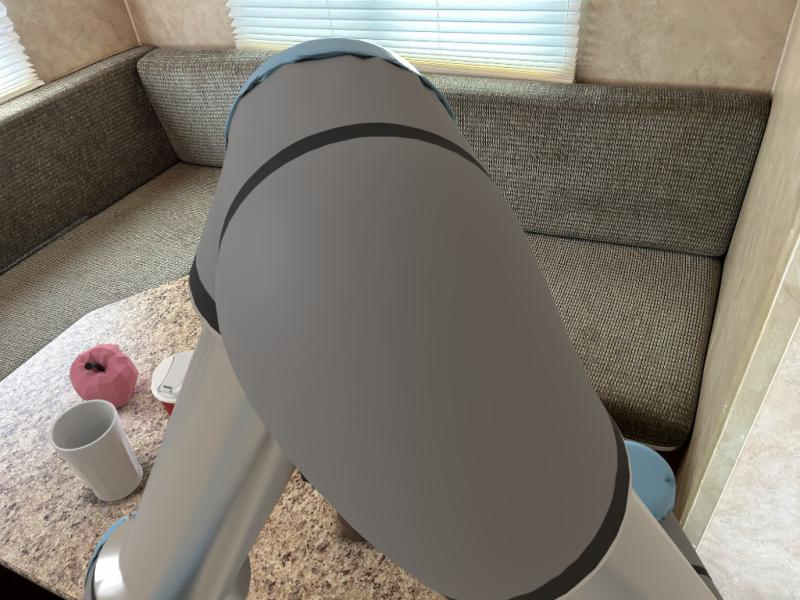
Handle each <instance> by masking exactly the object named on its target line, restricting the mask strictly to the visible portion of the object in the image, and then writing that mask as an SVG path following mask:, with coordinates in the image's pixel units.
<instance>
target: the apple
mask: <svg viewBox="0 0 800 600" xmlns="http://www.w3.org/2000/svg"><path fill="white" fill-rule="evenodd" d="M139 373H140V372H139V370H138V368H137V366H136V365H135V364H134V362H133V361H132V359H131V358H129V357H128V356H127V354H126V353H123V350H121V348H120V345H118V344H113V343H99V344H97V345H95V346H93V347H91V348H89V349H86V350H85V351H83V352H80V353H79V354H78V355H77V356H76V358H75V359H74V360H73V362H72V363H71V365H70V369H69V375H68V376H69V380H70V383H71V385H72V387H73V390H74V391H75V393H76V394H77V395H78V397H80V398H81V399H82V400H83V401H84V402H85V401H89V400H105V401H108V402H110V403H111V404H113V405H114V407H115V408H116V409H118V408H121V407H123V406H124V405H127V404H128V403H129V402H130V401H131V399H132V398H133V396H134V394H135V390H136V384H137V382H138V377H139Z"/></svg>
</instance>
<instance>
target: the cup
mask: <svg viewBox="0 0 800 600" xmlns="http://www.w3.org/2000/svg"><path fill="white" fill-rule="evenodd" d="M48 442H49V444H50V445H51V447H52V448H53V449H54V450H55V451H56V452H57V453H58V454H59V455H60V456H61V457H62V458H63V459H64V460H65V462H66V463H67V464H68V465H69V466H70V468H72V470H74V472H75V473H76V474H77V475H78V476H79V477H80V478H81V480H82V481H83V482H84V483H85V484H86V485H87V486H88V488H89V489H91V491H92V492H93V493H94V495H95V496H96V497H97V498H98V499H99V500H101V501H102V502H116V501H120V500H123V499H124V498H126V497H128V496H129V495H131V494H132V493H134V491H135V490H136V489H137V488H138V487H139V486H140V484H141V482H142V479H143V476H144V471H143V468H142V466H141V465H140V462H139V461H138V460H137V457H136V454H135V452H134V450H133V447H132V445H131V443H130V441H129V439H128V436H127V434H126V432H125V429H124V425H123V423H122V421H121V418H120V416H119V413H118V411H117V408H115V407H114V405H113V404H111V403H110V402H108V401H105V400H89V401H85V400H84V401H82V402H79V403H77V404H75V405H73V406H71V407H69V408H67V409H66V410H65V411H64V412H61V414H59V416H58V417H57V418H56V419H55V420H54V422H53V423H52V424H51V426H50V428H49V432H48Z"/></svg>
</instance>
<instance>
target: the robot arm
mask: <svg viewBox="0 0 800 600" xmlns="http://www.w3.org/2000/svg"><path fill="white" fill-rule="evenodd" d="M449 103H450V102H448V100H447V99H446V98H445V97H444V95H443V94H442V92H441V91H440V89H439V88H438V87H437V86H435V84H433V83H432V82H431V81H430V79H429V78H428V77H426V76H425V75H423V74H421V73H420V72H419V71H418V70H417V68H415V67H414V66H413V65H412V64H411V63H410V62H409V61H407V60H405V59H404V58H403V57H401V56H400V55H398V54H396V53H395V52H393V51H392V50H390V49H388V48H385V47H384V46H381V45H379V44H377V43H373V42H370V41H367V40H363V39H359V38H351V37H337V36H335V37H321V38H316V39H315V38H314V39H310V40H307V41H303V42H300V43H296V44H294V45H292V46H290V47H288V48H286V49H283V50H281V51H279V52H277V53H275V54H274V55H272V56H271V57H269V58H267V59H266V60H265V61H264V62H263V63H262V64H260V65H259V66H258V68H256V69H255V70H254V71H253V73H251V75H250V76H249V77H248V79H247V80H246V82H245V83H244V85H243V86H242V88H241V89H240V91H239V92H238V94H237V95H236V97H235V99H234V101H233V102H232V104H231V106H230V110H229V112H228V114H227V118H226V121H225V125H224V126H225V127H224V140H225V141H224V145H225V156H224V159H223V164H222V168H221V171H220V175H219V179H218V182H217V185H216V189H215V191H214V194H213V198H212V200H211V204H210V207H209V211H208V213H207V216H206V219H205V222H204V226H203V229H202V232H201V236H200V239H199V241H198V245H197V247H196V250H195V251H196V252H195V254H194V258H193V260H192V263H191V267H190V270H189V274H188V279H187V291H188V296H189V297H188V298H189V300H190V303H191V306H192V307H193V310H194V312H195V314H196V315H197V317H198V319H199V320H200V322H201V323H202V324H203V325H202V327H201V329H200V332H199V335H198V339H197V341H196V343H195V346H194V349H193V351H194V352H193V355H192V358H191V360H190V363H189V366H188V369H187V372H186V374H185V377H184V380H183V383H182V386H181V389H180V391H179V394H178V397H177V400H176V403H175V405H174V408H173V411H172V414H171V417H170V416H169V420H168V422H167V425H166V427H165V431H164V433H163V436H162V439H161V442H160V444H159V447H158V451H157V453H156V455H155V456H156V457H155V459H154V462H153V463H152V466H151V467H152V468H151V470H150V473H149V476H148V478H147V481H146V485H145V487H144V490H143V492H142V495H141V499H140V501H139V504H138V507H137V510H134V511H133V512H132V514H131V515H130V516H129V517H126V516H124V517H123V516H122V517H121V518H120V519H118V520H117V521H115V522H114V523H113V524H112V525H111V526H109V528H108V529H107V530H106V531H105V532H104V533H103V535H102V536H101V538H100V539H99V541H98V543H97V545H96V547H95V550H94V553H93V555H92V556H91V557H90V560H89V563H88V565H87V570H86V573H85V577H84V588H83V589H84V593H83V597H82V600H246V599H247V597H248V593H249V590H250V586H251V579H252V568H251V559H250V556H249V554H250V552H251V551H252V549H253V547H254V545H255V543H256V542H257V540H258V539H259V536H260V534H261V533H262V531H263V529H264V527H265V525H266V523H267V522H268V520H269V518H270V516H271V515H272V513H273V511H274V509H275V507H276V506H277V504H278V502H279V500H280V498H281V497H282V495H283V493H284V491H285V490H286V487H287V486H288V484H289V482H290V481H291V478H292V477H293V474H294V473H295V471H296V469H297V470H298V472H299V475H300V478H301V481H302V482H305V483H307V484H309V485H311V486H312V487H313V488H314V489H315V490H316V491H317V492H318V493H319V495H320V496H322V497H323V499H324V500H325V501H326V502H328V504H330V506H331V507H332V508H333V509H334V510H335V511H336V513H337V512H338V513H339V514H340V515H341V516H342V517H343V518H344V519H345V520H346V521H347V522H348V524H350V525H351V527H353V528H354V529H355V530H356V531H357V532H358V533H359V534H360V535H361V536H363V537H364V538H365V539H366V540H365V541H367V542H368V543H369V544H370V545H371V546H372V547H374V548H375V549H376V550H377V551H378V552H380V554H382V555H383V556H385V558H387V559H388V560H389V561H390V562H392V563H393V564H395V565H396V566H397V567H398V568H400V569H401V570H403V571H404V572H406V574H408V575H410V576H411V577H412V578H414V579H415V580H417V581H418V582H419V583H421V584H422V585H423V586H425V587H427V588H428V589H431V590H432V591H434V592H436V593H438V594H440V595H441V596H442V597H444V598H445V599H447V600H725V599H724V597H723V596H722V594H721V593H720V590H719V589H718V588H717V586H716V584H715V583H714V581H713V578H712V577H711V575H710V573H709V572H708V570H707V568H706V567H705V565H704V563H703V561H702V559H701V558H700V556H699V554H698V553H697V551H696V549H695V548H694V546H693V544H692V542H691V541H690V539H689V537H688V535H687V534H686V533H685V531H684V529H683V527H682V526H681V524H680V522H679V521H678V518H677V517H676V516H675V514H674V512H673V509H674V508H675V505H676V503H675V502H676V494H677V493H676V489H677V485H676V478H675V475H674V472H673V470H672V468H671V466H670V464H669V463H668V462H667V461H666V460H665V459H664V458H663V457H662V456H661V455H660V454H659V453H658V452H657V451H656V450H654V449H652V448H650V447H649V446H647V445H644V444H642V443H639V442H636V441H632V440H627V439H626V440H625V438H624V437H623V435H622V433H621V430H620V428H619V427H618V424H617V423H616V421H615V420H614V419H613V416H612V415H611V414H610V413H609V411H608V409H607V408H606V407H605V405H604V404H603V402H602V401H601V398H600V397H599V396H598V394H597V392H596V390H595V388H594V386H593V384H592V382H591V380H590V378H589V376H588V374H587V372H586V369H585V367H584V365H583V363H582V361H581V358H580V356H579V355H578V353H577V351H576V348H575V345H574V344H573V342H572V340H571V337H570V335H569V332H568V330H567V328H566V325H565V323H564V321H563V318H562V316H561V314H560V311H559V309H558V308H559V307H558V306H557V304H556V302H555V299H554V296H553V294H552V292H551V289H550V287H549V283H548V282H547V280H546V277H545V275H544V272H543V270H542V268H541V266H540V264H539V261H538V259H537V257H536V255H535V253H534V250H533V248H532V246H531V244H530V241H529V239H528V237H527V235H526V232H525V230H524V229H523V226H522V224H521V222H520V220H519V218H518V217H517V215H516V214H515V212H514V210H513V208H512V207H511V205H510V204H509V202H508V200H507V199H506V197H505V195H504V194H503V193H502V190H501V189H500V188H499V187H498V185H496V183H495V182H494V180H493V179H492V177H491V175H490V174H489V173H488V171H487V169H486V167H485V166H484V165H483V163H482V162H481V160H480V159H479V158H478V157H479V156H477V154H476V152H475V151H474V150H473V148H472V147H471V145H470V144H469V142H468V141H467V139H466V137H465V136H464V134H463V133H462V132H461V130H460V128H459V126H458V123H457V119H456V116H455V114H454V112H453V110H452V108H451V106H450V104H449Z"/></svg>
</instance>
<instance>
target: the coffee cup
mask: <svg viewBox="0 0 800 600" xmlns="http://www.w3.org/2000/svg"><path fill="white" fill-rule="evenodd" d="M193 352H194V350H186V351H181V352H178V353H174V354H171V355H170V356H168V357H166V358H165V359H163V360H162V361H160V362H159V364H158V365H157V366H156V367H155V368H154V370H153V373H152V375H151V385H150V390H151V392H152V395H153V396H154V398H156V399H157V400H158V401H160V403H161V405H162V406H163V408H164V410H165V411H166V413H167V415H168V416H169V418H170V417H171V414H172V411H173V408H174V405H175V403H176V400H177V397H178V394H179V391H180V389H181V386H182V383H183V380H184V377H185V374H186V372H187V369H188V366H189V363H190V360H191V358H192V355H193Z"/></svg>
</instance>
